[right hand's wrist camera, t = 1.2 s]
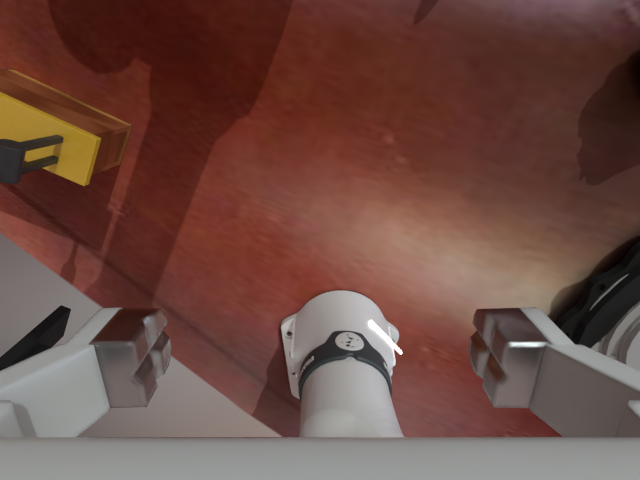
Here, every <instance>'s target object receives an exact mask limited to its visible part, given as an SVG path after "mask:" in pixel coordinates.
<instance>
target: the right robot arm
mask: <svg viewBox="0 0 640 480" xmlns="http://www.w3.org/2000/svg"><path fill="white" fill-rule="evenodd" d="M166 324H167V319H166V315H165V312H164V311H163V310H162V309H160V308H102V309H100V310H99V311H98V312H97V313H96V314H95V315H94V316H93V317H92V318H91V319H90V320H89V321H88V322H87V323H86V324H85V325H84V326H83V327H82V328H81V329H80V330H79V331H78V332H77V333H76V334H75V335H74V336H73V337H72V338H71V339H70V340H69V341H68V342H67V343H66V344H65V345H56V346H54V347H52V348H50V349H48V350H45V351H43V352H41V353H39V354H37V355H34V356H32V357H30V358H28V359H25V360H23V361H21V362H19V363H17V364H14V365H12V366H10V367H8V368H6V369H3V370H1V371H0V480H640V371H639V370H637V369H634V368H632V367H630V366H628V365H625V364H623V363H621V362H619V361H617V360H614V359H612V358H610V357H608V356H606V355H603V354H601V353H599V352H597V351H595V350H592V349H590V348H588V347H586V346H584V345H575V344H574V343H573V342H572V341H571V340H570V339H569V338H568V337H567V336H566V335H565V334H564V333H563V332H562V331H561V330H560V329H559V328H558V327H557V326H556V325H555V324H554V323H553V322H552V321H551V320H550V319H549V318H548V317H547V316H546V315H545V314H544V312H543V311H542V310H541V309H538V308H536V307H532V308H503V309H477V310H476V312H475V314H474V319H473V324H474V326H475V327H476V329H477V331H476V332H475V333H474V334H473V335H472V336H471V337H470V343H469V357H470V362H471V365H472V368H473V370H474V372H475V374H477V375H478V376H480V377H481V378H483V379H484V381H483V389H484V390H485V392H486V394H487V396H488V398H489V399H490V401H491V403H492V405H493V407H510V408H530V409H529V410H530V411H532V412H533V413H534V414H535V415H537V416H538V417H539V418H541V419H542V420H543V421H544V422H546V423H547V424H548V425H549V426H551V427H552V428H553V429H554V430H556V431H557V432H558V433H559V434H561V435H562V436H563V437H404V436H403V434H402V432H401V429H400V426H399V423H398V421H397V417H396V414H395V411H394V407H393V404H392V400H391V396H392V382H391V376H392V367H393V366H395V355H394V348H395V349H396V350H397V351H398V352H399V353H400V354H402V351H401V350H400V349H399V348H398V347H397V346H396V343H397V341H398V339H399V332H398V330H397V328H396V327H394V326H393V325H392V324H391V323H389V322H388V321H387V320H386V319H385V318H384V316H383V314H382V312H381V311H380V309H379V308H378V306H377V305H376V304H375V303H374V302H373V301H371V300H370V299H369V298H367V297H365V296H363V295H361V294H359V293H356V292H352V291H343V290H338V291H330V292H326V293H323V294H320V295H318V296H316V297H314V298H313V299H311V300H310V301H309V302H307V303H306V304H305V305H304V306H303V308H302V309H301V310H300V311H299V312H297V313H296V314H294V315H291V316H289V317H287V318H285V319H284V320H283V321H282V322H281V332H282V339H283V345H284V351H285V357H286V364H287V370H288V376H289V383H290V389H291V393H292V395H293V396H294V397H296V398H298V399H300V402H301V416H300V433H299V437H77V436H78V435H79V434H81V433H82V432H83V431H84V430H86V429H87V428H88V427H90V426H91V425H92V424H93V423H95V422H96V421H97V420H98V419H100V418H101V417H102V416H103V415H105V414H106V413H107V412H108V411H110V408H129V407H147V405H148V403H149V401H150V399H151V398H152V396H153V394H154V392H155V390H156V389H157V381H156V379H157V378H159V377H160V376H162V375H163V374H165V372H166V370H167V368H168V365H169V361H170V357H171V342H170V337H169V336H168V335H167V334H166V333H165V332H164V331H163V329H164V327H165V326H166ZM287 332H291V333H287Z"/></svg>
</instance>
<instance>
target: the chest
mask: <svg viewBox="0 0 640 480" xmlns="http://www.w3.org/2000/svg"><path fill="white" fill-rule="evenodd" d="M0 92H1V93H4V94H6V95H8V96H10V97H12V98H15V99H17V100H19V101H21V102H23V103H25V104H28V105H30V106H32V107H34V108H36V109H39V110H41V111H43V112H45V113H47V114H49V115H52V116H54V117H56V118H58V119H60V120H62V121H65V122H67V123H69V124H71V125H73V126H76V127H78V128H80V129H82V130H84V131H86V132H89V133H91V134H93V135H95V136H97V137H100V138H101V142H100V145H99V149H98V153H97V156H96V160H95V164H94V167H93V171H92V174H91V176H93V175H95V174H98V173H100V172H103V171H105V170H108V169H110V168H113V167H115V166H118V165H121V162H122V158H123V155H124V152H125V148H126V145H127V142H128V138H129V135H130V132H131V128H132V125H131V124H128V123H126V122H124V121H122V120H120V119H118V118H116V117H114V116H111V115H109V114H107V113H105V112H103V111H101V110H99V109H97V108H94V107H92V106H90V105H88V104H86V103H84V102H82V101H80V100H77V99H75V98H73V97H71V96H69V95H67V94H65V93H63V92H60V91H58V90H56V89H54V88H52V87H50V86H48V85H46V84H43V83H41V82H39V81H37V80H35V79H33V78H31V77H29V76H26V75H24V74H22V73H20V72H18V71H16V70H14V69H0Z"/></svg>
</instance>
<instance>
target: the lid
mask: <svg viewBox="0 0 640 480" xmlns="http://www.w3.org/2000/svg"><path fill="white" fill-rule="evenodd" d="M100 142H101V138H100V137H97V136H95V135H93V134H91V133H89V132H86V131H84V130H82V129H80V128H78V127H76V126H73V125H71V124H69V123H67V122H65V121H62V120H60V119H58V118H56V117H54V116H52V115H49V114H47V113H45V112H43V111H41V110H39V109H36V108H34V107H32V106H30V105H28V104H25V103H23V102H21V101H19V100H17V99H15V98H12V97H10V96H8V95H6V94H4V93H1V92H0V182H3V183H9V184H14V183H18V182H19V181H20V179H21V174H25V173H28V172H31V171H34V170H38V169H41V168H43V169H45V170H48V171H50V172H52V173H54V174H57V175H59V176H61V177H64V178H66V179H68V180H71V181H73V182H75V183H77V184H80V185H82V186H86V185H88V184H89V182H90V178H91V174H92V171H93V167H94V164H95V160H96V156H97V153H98V149H99V145H100ZM24 160H25V161H27V162H26V163H24Z"/></svg>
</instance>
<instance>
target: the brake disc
mask: <svg viewBox="0 0 640 480" xmlns="http://www.w3.org/2000/svg"><path fill="white" fill-rule="evenodd" d="M554 324H555V325H556V326H557V327H558V328H559V329H560V330H561V331H562V332H563V333H564V334H565V335H566V336H567V337H568V338H569V339H570V340H571V341H572V342H573V343H574V344H575V345H584V346H586V347H588V348H590V349H592V350H595V351H597V352H599V353H601V354H603V355H606V356H608V357H610V358H612V359H614V360H617V361H619V362H621V363H623V364H625V365H628V366H630V367H632V368H634V369H637V370H639V371H640V241H639V242H637V243H636V244H635V245H634V246H633V247H632V248H631V249H630V250H629V252H628V253H627V254H626V255H625V257H624V258H623V259H622V260H621V261H620V262H619V263H618V264H617V265H615V266H614V267H613V268H612V269H610V270H609V271H607V272H605V273H602V274H599V275H596V276H593V277H592V278H590V279H589V280H588V281H587V283H586V284H585V288H584V291H583V295H582V297H581V299H580V300H579V301H578V302H577V303H576V304H575V305H574V306H573V307H572V308H571V309H570V310H568V311H567V312H566V313H565V314H564V315H562V316H561V317H560V318H559V319H558V320H557V321H556V322H555V323H554Z"/></svg>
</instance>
